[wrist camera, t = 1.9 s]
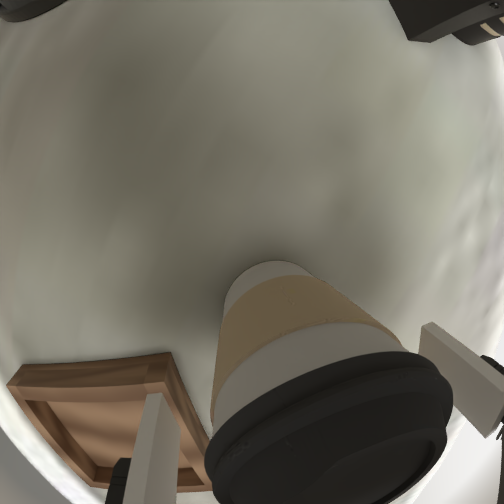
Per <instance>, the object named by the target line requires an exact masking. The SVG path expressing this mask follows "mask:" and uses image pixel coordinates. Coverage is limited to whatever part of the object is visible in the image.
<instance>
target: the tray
mask: <svg viewBox="0 0 504 504" xmlns="http://www.w3.org/2000/svg"><path fill="white" fill-rule="evenodd" d="M6 386H7V388H8V389H9V391H10V393H11V394H12V396H13V397H14V399H15V400H16V402H17V403H18V405H19V406H20V407H21V409H22V410H23V412H24V413H25V414H26V416H27V417H28V419H29V420H30V421H31V423H32V424H33V425H34V426H35V428H36V429H37V430H38V432H39V433H40V434H41V435H42V436H43V438H44V439H45V440H46V441H47V442H48V444H49V445H50V446H51V447H52V448H53V449H54V451H55V452H56V453H57V454H58V455H59V456H60V457H61V458H62V459H63V460H64V461H65V463H66V464H67V465H68V466H69V467H70V468H71V469H72V470H73V471H74V472H75V473H76V474H77V475H78V476H79V477H80V478H81V479H82V480H84V481H85V482H86V483H87V484H88V485H89V486H90V487H96V488H103V489H108V488H109V485H110V480H111V478H112V472H113V468H114V465H115V464H116V463H117V461H118V460H119V459H120V457H122V458H132V455H133V450H134V446H135V442H136V437H137V433H138V429H139V425H140V421H141V417H142V413H143V409H144V405H145V401H146V397H147V394H155V393H163V395H164V398H165V400H166V402H167V404H168V406H169V408H170V410H171V412H172V414H173V416H174V417H175V419H176V421H177V423H178V425H179V427H180V429H181V436H180V448H179V461H178V476H177V493H181V492H202V491H213V490H212V482H211V481H210V479H209V478H208V476H207V474H206V471H205V467H204V457H205V452H206V449H207V446H208V444H209V443H210V441H209V439H208V437H207V435H206V433H205V431H204V429H203V427H202V424H201V422H200V420H199V418H198V416H197V414H196V412H195V410H194V407H193V405H192V403H191V401H190V398H189V396H188V394H187V392H186V389H185V387H184V385H183V382H182V380H181V377H180V375H179V373H178V370H177V368H176V365H175V363H174V360H173V358H172V355H171V352H169V353H162V354H154V355H147V356H139V357H131V358H122V359H112V360H102V361H90V362H77V363H60V364H34V365H22V366H21V367H20V368H19V370H18V371H17V372H16V373H15V375H14V376H13V377H12V378H11V380H10V381H9V382H8V383H7V385H6Z"/></svg>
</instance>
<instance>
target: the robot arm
mask: <svg viewBox="0 0 504 504" xmlns="http://www.w3.org/2000/svg"><path fill="white" fill-rule="evenodd" d="M64 1H65V0H0V18H2V19H3V20H5V21H9V22H18V21H23V20H26V19H29V18H32V17H35V16H37V15H39V14H41V13H44V12H46V11H48V10H49V9H51V8H53V7H55V6H57V5H58V4H60V3H62V2H64ZM418 355H421V356H423V357H425V358H427V359H429V360H430V361H431V362H433V363H434V364H435V366H436V367H437V368H438V370H439V372H440V374H441V375H442V376H443V377H444V378H445V379H447V381H448V382H449V383H450V385H451V387H452V390H453V405H454V406H455V407H456V408H457V409H458V410H459V411H460V412H461V413H462V414H463V415H464V416H465V417H466V418H467V419H468V420H469V422H471V424H472V425H473V426H474V427H475V428H476V429H477V430H478V431H479V432H480V433H481V434H482V435H483V437H484V438H487V437H488V436H489V435H491V434H492V433H493V432H494V431H495V430H496V429H497V427H498V425H499V424H500V422H502V423H503V424H504V367H503V366H502V365H499V363H498V362H496V361H495V360H494V359H492V358H490V357H487V356H485V355H482V356H481V357H479V356H478V355H477V354H475V353H474V352H473V351H471V350H470V349H469V348H467V347H466V346H465V345H463V344H462V343H461V342H459V341H458V340H457V339H455V338H454V337H453V336H451V335H450V334H449V333H447V332H446V331H445V330H443V329H442V328H440V327H439V326H438V325H436V324H435V323H433V322H430V323H428V324H426V325H423V326H422V328H421V336H420V344H419V352H418ZM501 434H502V437H501V440H502V460H501V461H502V462H501V475H500V486H499V494H498V501H497V504H504V425H503V426H502V428H501V430H500V432H499V434H498V435H497V437H496V440H498V439H499V437H500V436H501ZM180 436H181V429H180V427H179V425H178V423H177V421H176V419H175V417H174V416H173V414H172V412H171V410H170V408H169V406H168V404H167V402H166V400H165V398H164V395H163V393H155V394H147V397H146V401H145V405H144V409H143V413H142V417H141V421H140V425H139V429H138V433H137V437H136V442H135V446H134V450H133V455H132V458H122V457H120V459H119V460H118V461H117V463H116V464H115V465H114V468H113V472H112V478H111V480H110V485H109V488H108V492H107V497H106V501H105V504H176V493H177V476H178V461H179V448H180Z"/></svg>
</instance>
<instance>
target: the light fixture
mask: <svg viewBox="0 0 504 504" xmlns="http://www.w3.org/2000/svg"><path fill="white" fill-rule="evenodd" d="M389 2H390V4H391V6H392V8H393V9H394V11H395V13H396V15H397V17H398V19H399V21H400V23H401V25H402V27H403V30H404V32H405V34H406V36H407V38H408V40H411V41H421V42H429V43H431V42H433V41H435V40H437V39H439V38H442V37H444V36H446V35H448V34H450V33H452V34H453V35H454V36H456V37H457V38H458V39H459V40H461V41H462V42H464V43H466V44H469V45H476V44H479V43H482V42H485V41H488V40H491V39H495V38H498V37H500V36H501V35H503V36H504V0H389Z"/></svg>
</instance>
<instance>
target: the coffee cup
mask: <svg viewBox="0 0 504 504" xmlns="http://www.w3.org/2000/svg"><path fill="white" fill-rule="evenodd" d="M452 408H453V390H452V387H451V385H450V383H449V382H448V381H447V379H445V378H444V377H443V376H442V375H441V374H440V372H439V370H438V368H437V367H436V366H435V364H434V363H433V362H431V361H430V360H429V359H427V358H425V357H423V356H421V355H418V354H415V353H410V352H409V351H408V350H406V349H405V348H404V347H403V346H402V345H401V343H400V341H399V340H398V338H397V337H396V336H395V335H394V334H393V333H392V332H391V331H390V330H388V329H387V328H386V327H385V326H383V325H382V324H381V323H379V322H378V321H377V320H375V319H374V318H373V317H371V316H370V315H369V314H367V313H366V312H365V311H363V310H362V309H361V308H360V307H358V306H357V305H356V304H354V303H353V302H352V301H350V300H349V299H348V298H346V297H345V296H344V295H342V294H341V293H340V292H338V291H337V290H336V289H334V288H333V287H332V286H330V285H329V284H327V283H326V282H324V281H322V280H320V279H317V278H315V277H314V276H312V275H311V274H310V273H308V272H307V271H306V270H304V269H303V268H302V267H300V266H298V265H296V264H294V263H291V262H287V261H267V262H263V263H260V264H257V265H255V266H253V267H251V268H249V269H247V270H246V271H244V272H243V273H242V274H241V275H240V276H239V277H238V278H237V279H236V280H235V281H234V282H233V284H232V285H231V287H230V289H229V291H228V293H227V295H226V298H225V303H224V312H223V322H222V325H221V329H220V334H219V341H218V349H217V357H216V365H215V374H214V382H213V390H212V399H211V409H210V416H211V422H212V426H213V435H212V439H211V441H210V443H209V444H208V446H207V449H206V452H205V457H204V467H205V471H206V474H207V476H208V478H209V479H210V481H211V482H212V490H213V494H214V496H215V498H216V499H217V501H218V502H219V503H220V504H389V503H390V502H392V501H393V500H395V499H397V498H398V497H399V496H401V495H402V494H404V493H405V492H406V491H408V490H409V489H410V488H412V487H413V486H414V485H415V484H416V483H418V482H419V481H420V480H421V479H422V478H423V477H424V476H425V475H426V474H427V473H428V472H429V471H430V470H431V469H432V467H433V466H434V465H435V464H436V462H437V461H438V460H439V458H440V457H441V455H442V453H443V451H444V449H445V447H446V444H447V433H446V426H447V424H448V422H449V419H450V416H451V413H452Z"/></svg>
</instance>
